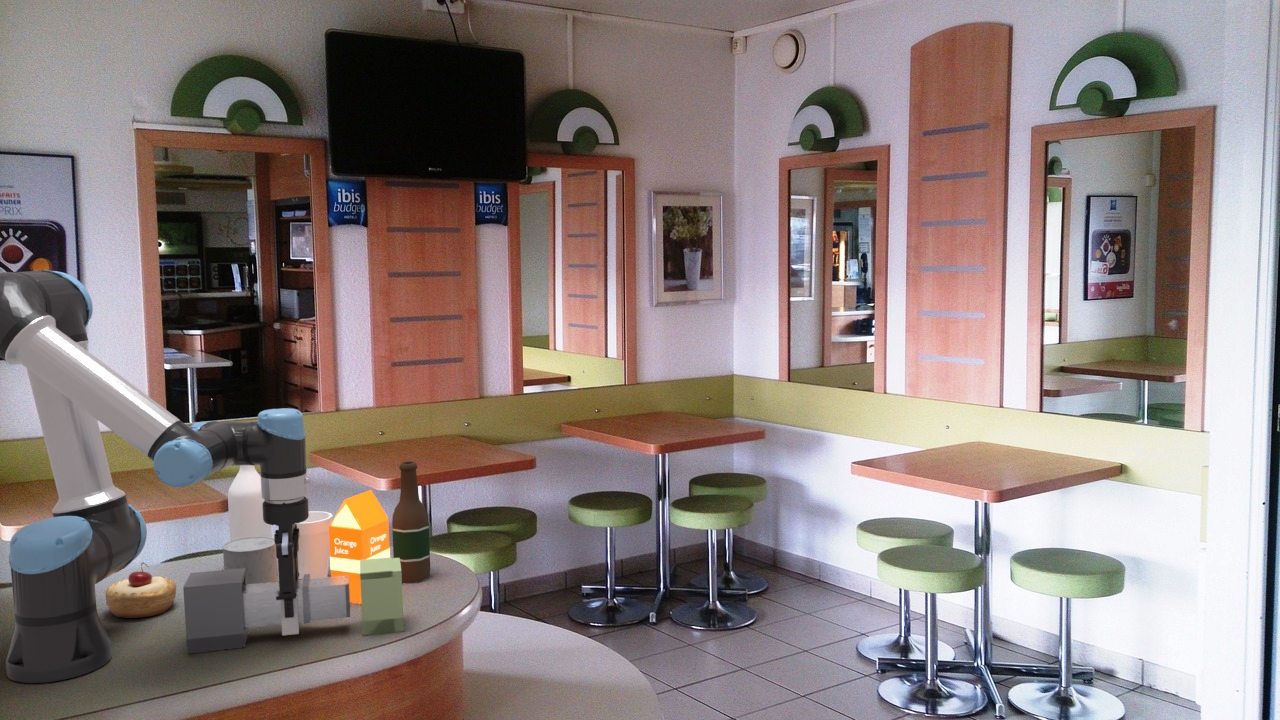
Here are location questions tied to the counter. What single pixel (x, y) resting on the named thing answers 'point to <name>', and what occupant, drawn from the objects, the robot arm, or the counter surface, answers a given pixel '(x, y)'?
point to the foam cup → (314, 545)
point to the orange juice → (357, 538)
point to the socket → (381, 595)
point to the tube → (312, 597)
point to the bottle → (246, 505)
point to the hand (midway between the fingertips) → (291, 627)
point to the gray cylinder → (252, 558)
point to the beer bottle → (411, 529)
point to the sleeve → (214, 610)
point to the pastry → (140, 595)
